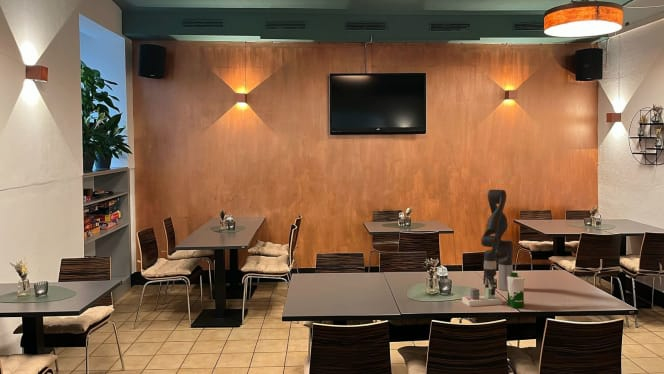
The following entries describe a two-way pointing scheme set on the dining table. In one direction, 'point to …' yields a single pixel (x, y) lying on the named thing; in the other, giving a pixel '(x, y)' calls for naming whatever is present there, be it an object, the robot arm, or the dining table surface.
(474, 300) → the white plate with window
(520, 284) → the milk carton
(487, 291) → the green plug
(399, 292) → the dining table surface
